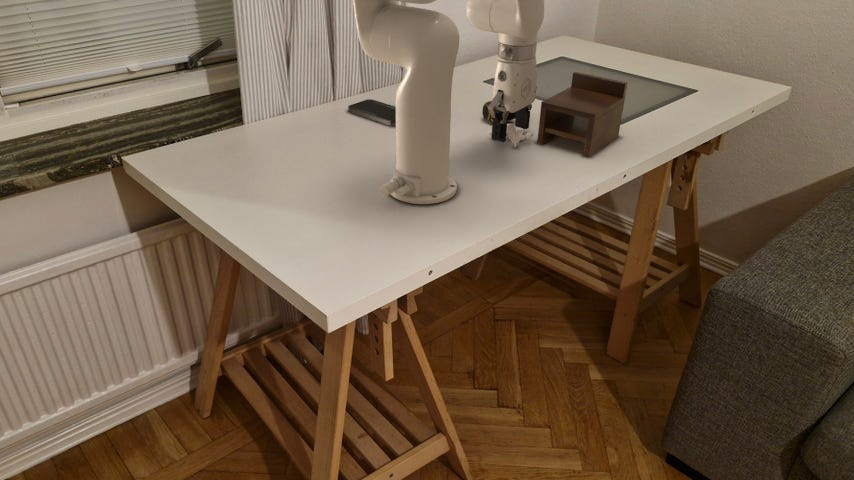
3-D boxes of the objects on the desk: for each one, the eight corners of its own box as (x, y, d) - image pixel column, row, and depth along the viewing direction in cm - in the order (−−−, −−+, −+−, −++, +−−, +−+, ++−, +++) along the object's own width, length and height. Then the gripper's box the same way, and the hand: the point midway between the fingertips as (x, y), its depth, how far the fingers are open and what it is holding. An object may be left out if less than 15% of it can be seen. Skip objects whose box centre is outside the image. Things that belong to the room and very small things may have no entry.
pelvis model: (536, 126, 144) (514, 131, 141) (533, 146, 147) (511, 151, 143) (509, 115, 150) (487, 119, 146) (506, 134, 152) (484, 139, 148)
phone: (369, 98, 167) (415, 112, 158) (369, 103, 167) (415, 117, 159) (345, 106, 162) (392, 121, 153) (345, 111, 162) (392, 126, 154)
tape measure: (516, 123, 156) (518, 107, 154) (488, 126, 155) (490, 110, 153) (504, 113, 162) (505, 98, 160) (477, 116, 160) (478, 100, 158)
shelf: (588, 157, 140) (597, 99, 134) (537, 143, 147) (542, 87, 140) (618, 137, 150) (627, 82, 143) (568, 124, 156) (575, 71, 149)
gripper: (509, 64, 129) (503, 151, 139) (555, 44, 141) (546, 126, 150) (476, 57, 133) (472, 142, 143) (523, 38, 145) (516, 118, 154)
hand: (510, 133), depth 146 cm, fingers open, 8 cm apart
